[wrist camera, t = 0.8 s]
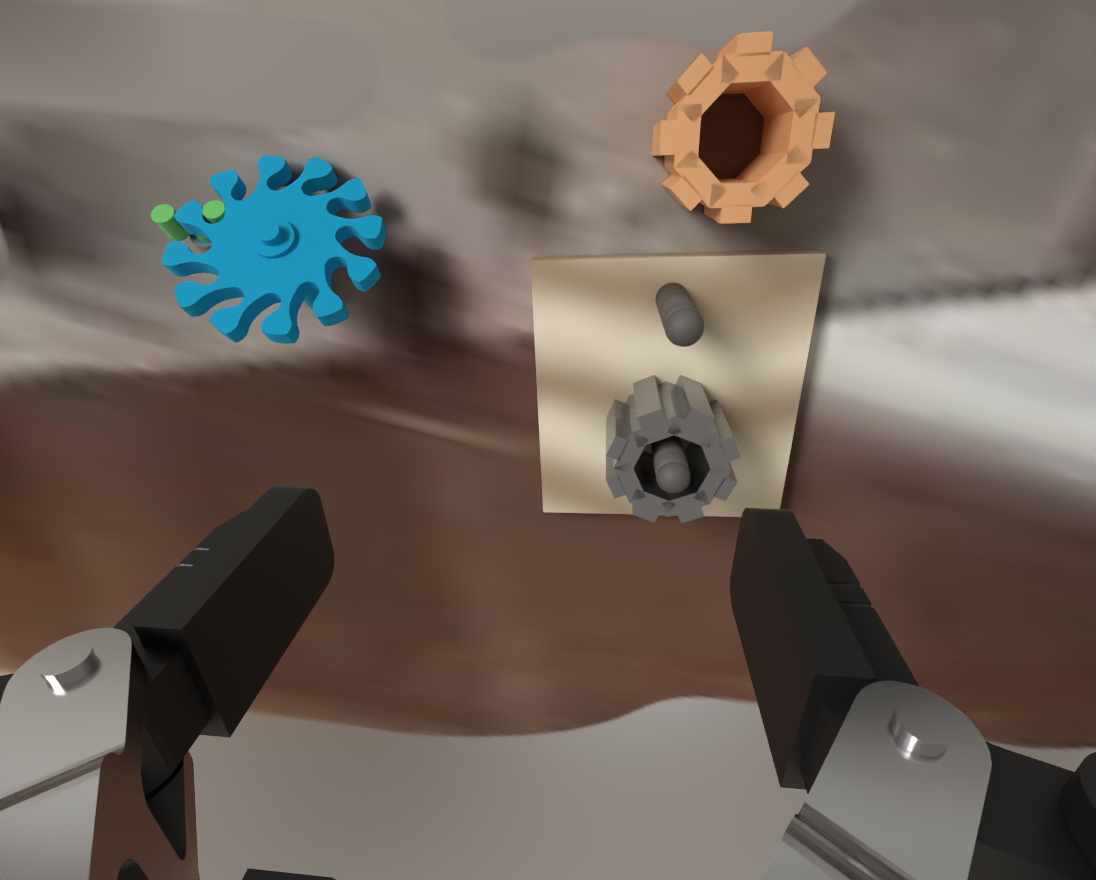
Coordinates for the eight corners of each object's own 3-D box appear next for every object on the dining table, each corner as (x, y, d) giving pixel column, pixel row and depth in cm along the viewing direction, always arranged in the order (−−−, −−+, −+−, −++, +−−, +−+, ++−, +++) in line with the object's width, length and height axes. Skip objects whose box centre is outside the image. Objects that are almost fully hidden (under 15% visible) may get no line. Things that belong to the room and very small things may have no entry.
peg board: (533, 256, 28) (511, 285, 22) (817, 249, 27) (882, 278, 21) (545, 501, 35) (531, 577, 29) (772, 506, 34) (811, 588, 27)
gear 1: (588, 399, 30) (585, 436, 26) (702, 356, 29) (716, 388, 25) (630, 491, 33) (633, 537, 29) (737, 457, 31) (755, 500, 27)
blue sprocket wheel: (415, 179, 26) (315, 360, 23) (437, 257, 31) (359, 411, 28) (207, 114, 27) (85, 279, 24) (264, 201, 32) (172, 344, 29)
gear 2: (656, 57, 24) (665, 38, 20) (809, 48, 23) (849, 26, 19) (649, 215, 27) (656, 225, 23) (785, 211, 26) (816, 220, 22)
